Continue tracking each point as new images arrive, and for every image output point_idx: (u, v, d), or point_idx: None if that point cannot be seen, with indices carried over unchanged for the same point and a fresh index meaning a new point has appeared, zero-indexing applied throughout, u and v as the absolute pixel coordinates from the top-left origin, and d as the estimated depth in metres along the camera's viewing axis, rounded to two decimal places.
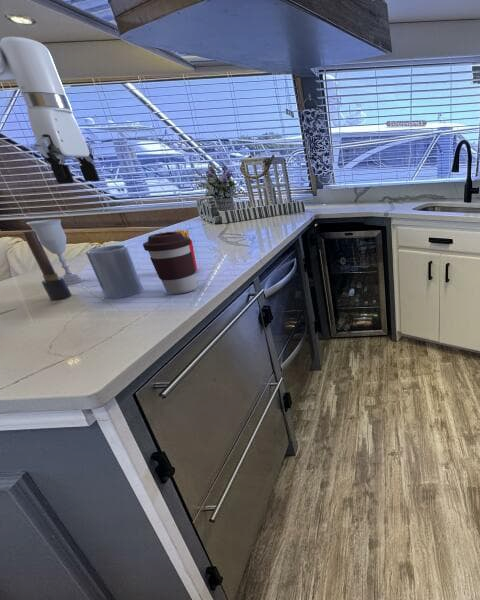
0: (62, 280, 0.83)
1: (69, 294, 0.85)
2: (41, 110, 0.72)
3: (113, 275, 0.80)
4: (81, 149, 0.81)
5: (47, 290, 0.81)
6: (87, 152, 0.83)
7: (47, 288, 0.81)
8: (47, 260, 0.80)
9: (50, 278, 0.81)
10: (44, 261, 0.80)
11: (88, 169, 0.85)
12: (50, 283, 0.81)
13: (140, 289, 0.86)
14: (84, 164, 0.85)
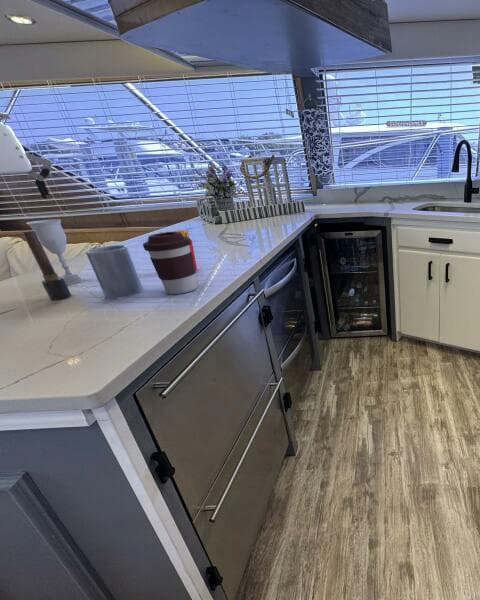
0: (62, 280, 0.83)
1: (69, 294, 0.85)
2: None
3: (113, 275, 0.80)
4: (7, 165, 0.71)
5: (47, 290, 0.81)
6: (23, 167, 0.73)
7: (47, 288, 0.81)
8: (47, 260, 0.80)
9: (50, 278, 0.81)
10: (44, 261, 0.80)
11: (37, 185, 0.76)
12: (50, 283, 0.81)
13: (140, 289, 0.86)
14: None
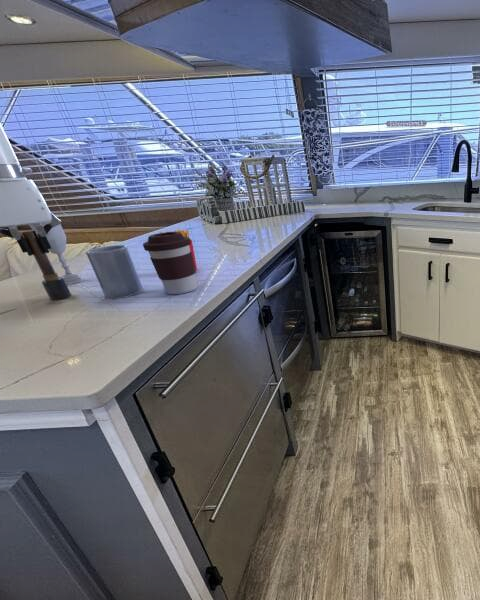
0: (62, 280, 0.83)
1: (69, 294, 0.85)
2: None
3: (113, 275, 0.80)
4: (30, 217, 0.76)
5: (47, 290, 0.81)
6: (44, 218, 0.77)
7: (47, 288, 0.81)
8: (47, 260, 0.80)
9: (50, 278, 0.81)
10: (44, 261, 0.80)
11: None
12: (50, 283, 0.81)
13: (140, 289, 0.86)
14: None
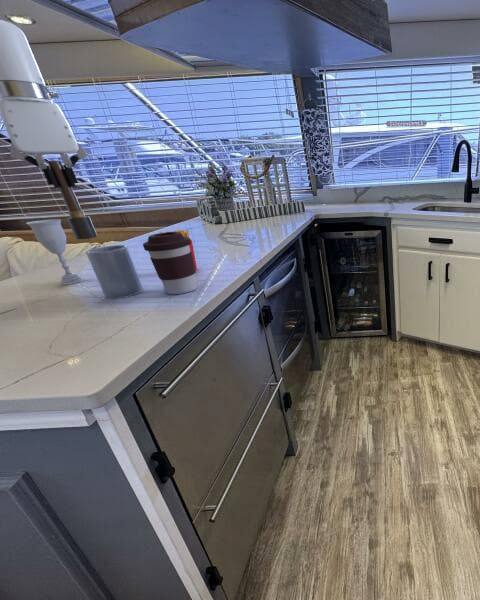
0: (88, 218, 0.78)
1: (95, 234, 0.80)
2: None
3: (113, 275, 0.80)
4: (56, 144, 0.71)
5: (73, 228, 0.77)
6: (71, 147, 0.73)
7: (73, 225, 0.76)
8: (73, 195, 0.76)
9: (76, 215, 0.76)
10: (70, 195, 0.75)
11: None
12: (76, 220, 0.76)
13: (140, 289, 0.86)
14: None
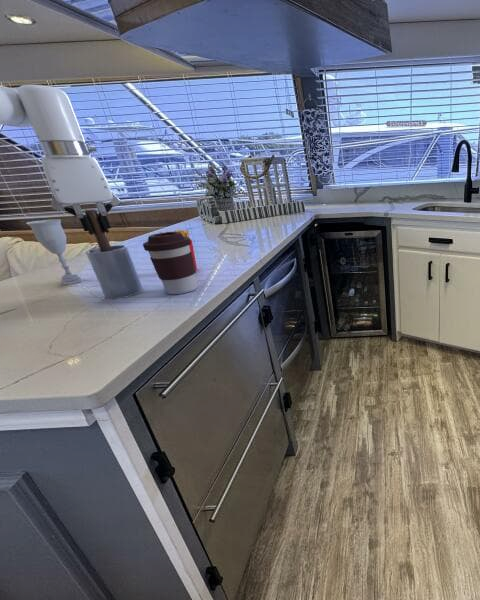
0: None
1: None
2: (42, 159, 0.69)
3: (113, 275, 0.80)
4: (93, 195, 0.75)
5: None
6: (106, 197, 0.77)
7: None
8: (106, 240, 0.80)
9: None
10: (104, 240, 0.80)
11: (100, 220, 0.79)
12: None
13: (140, 289, 0.86)
14: None
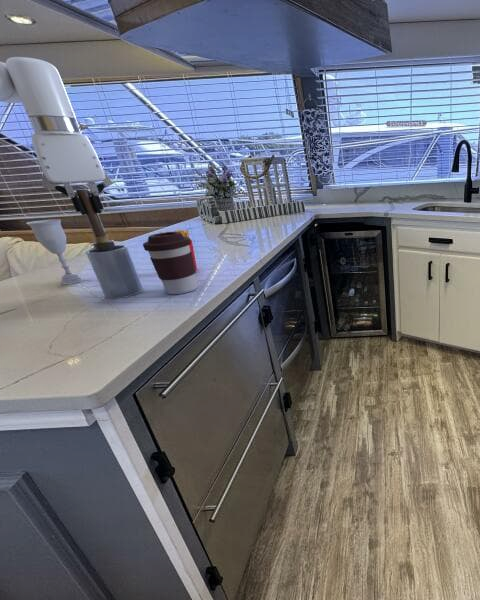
0: (112, 243, 0.81)
1: None
2: (32, 136, 0.68)
3: (113, 275, 0.80)
4: (85, 174, 0.74)
5: None
6: (98, 176, 0.75)
7: (98, 250, 0.79)
8: (99, 221, 0.78)
9: (101, 240, 0.79)
10: (96, 222, 0.78)
11: (92, 200, 0.77)
12: (102, 245, 0.79)
13: (140, 289, 0.86)
14: None
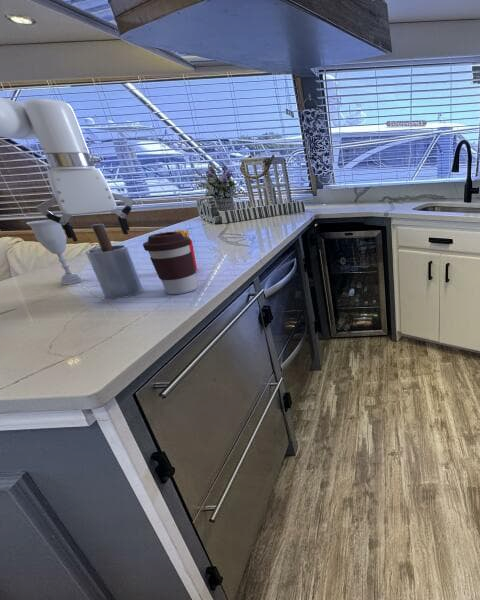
0: None
1: None
2: (48, 171, 0.70)
3: (113, 275, 0.80)
4: (98, 205, 0.76)
5: None
6: (110, 207, 0.78)
7: None
8: None
9: None
10: None
11: (119, 222, 0.81)
12: None
13: (140, 289, 0.86)
14: (118, 217, 0.81)
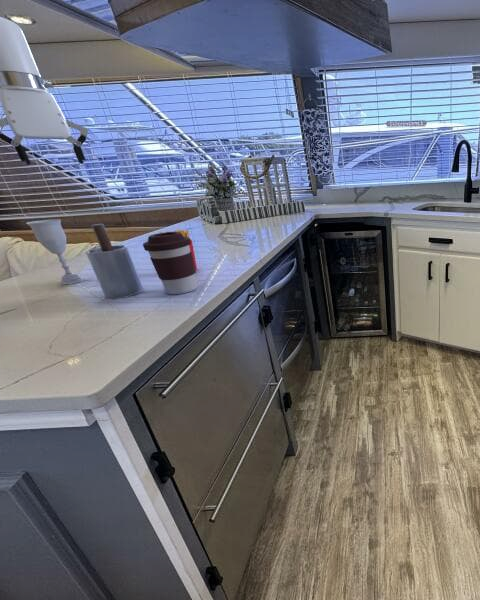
0: None
1: None
2: None
3: (113, 275, 0.80)
4: (50, 130, 0.79)
5: None
6: (64, 133, 0.80)
7: None
8: None
9: None
10: None
11: (74, 151, 0.84)
12: None
13: (140, 289, 0.86)
14: None
